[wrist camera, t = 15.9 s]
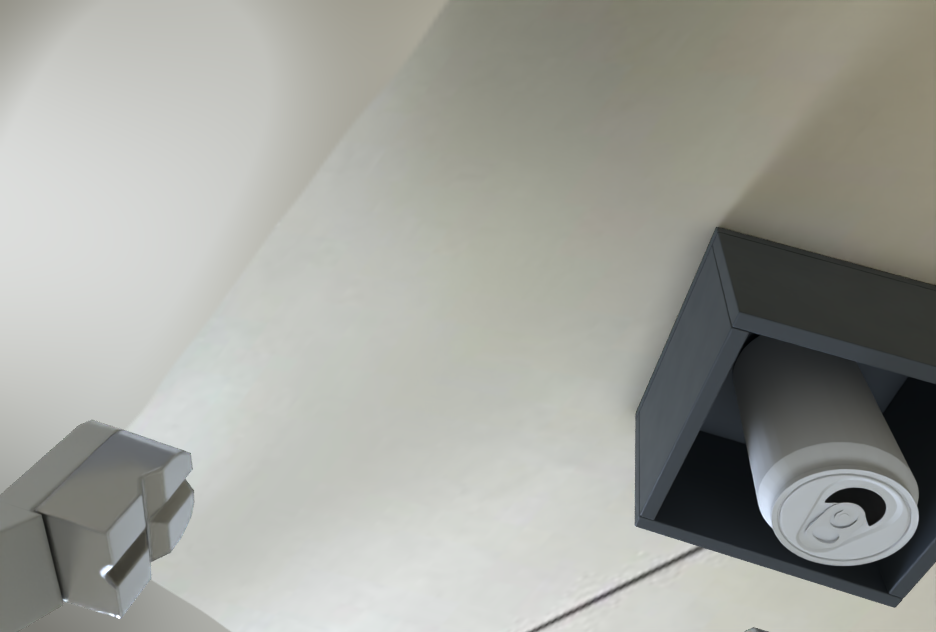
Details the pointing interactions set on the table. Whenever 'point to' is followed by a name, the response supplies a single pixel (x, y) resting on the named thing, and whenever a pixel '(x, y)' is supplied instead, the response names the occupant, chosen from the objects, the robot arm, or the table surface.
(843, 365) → the beverage can
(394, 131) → the table surface
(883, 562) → the waste bin
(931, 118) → the table surface
